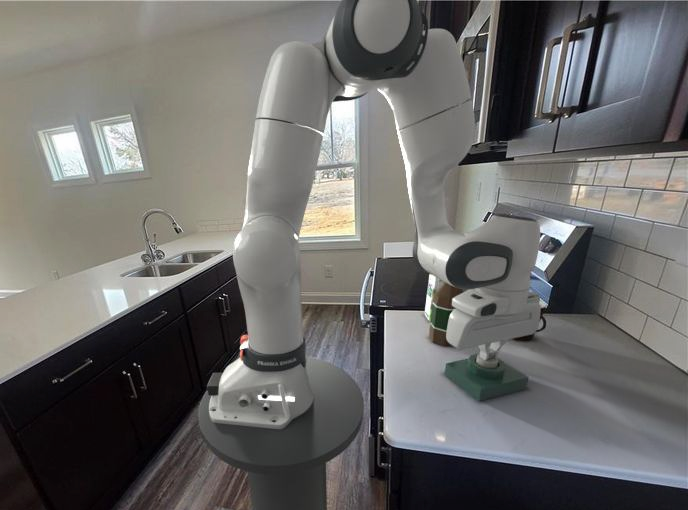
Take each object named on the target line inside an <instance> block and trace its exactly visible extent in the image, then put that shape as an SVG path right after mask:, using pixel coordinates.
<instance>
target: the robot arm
mask: <svg viewBox="0 0 688 510" xmlns="http://www.w3.org/2000/svg"><path fill="white" fill-rule="evenodd" d="M373 90H377V91H378V92H380V93H381V94H382V95H383V96H384V97H385V98H386V100H387V101H388V104H389V105H390V107H391V110H392V112H393V117H394V118H393V119H394V122H395V126H396V127H395V128H396V130H397V135H398V139H399V144H400V148H401V153H402V156H403V161H404V165H405V173H406V182H407V189H408V197H409V203H410V208H411V213H412V220H413V225H414V239H413V244H412V245H413V246H412V260H413V262H414V264H415V266H416V268H417V269H419V270H420V271H422V272H423V273H426V274H428V275H429V276H430V275H433V276H435V277H437V278H439V279H440V280H442V281H444V282H446V283H448V284H450V285H451V286H453V287H456V288H459V289H462V290H463V293H462V294H460V295H458V296H456V297H454V298H453V300H452V306H453V307H455V308H456V309H454V310H453V311H452V312H451V314H450V317H449V321H448V326H447V332H446V339H447V341H448V342H449V343H450V344H451V345H452V346H451V347H454V348H455V349H457V350H459V351H460V350H461V351H462V350H466V349H471V348H475V347H478V349H479V354H480V358H482V359H484V360H488V359H492V358H498V355H499V352H500V350H501V349H502V348H503V347H504V345H505V344H506V341H507V340H514V339H513V338H517V337H522V336H526V335H531V334H534V333H535V334H536V333H537V332H536V331H537V330H539V326H540V323H539V321H540V322H541V320H540V312H541V307H540V305H539V301H540V300H541V297H540V295H539V294H538V293H537V292H536V291H530V290H531V286H532V284H531V283H532V282H531V274H532V271H533V270H534V268H535V267H536V264H537V259H538V255H539V251H540V244H541V227H540V223H539V221H537V220H536V219H534V218H532V217H528V216H523V215H522V216H521V215H515V214H509V213H508V214H507V213H496V214H493V215H492V216H491V217H490V218H489V220H488V221H486V222H485V223H483V224H482V225H480V226H478V227H477V228H475V229H473V230H471V231H469V232H465V233H461V232H457V231H456V230H455V229H454V228H453V227H452V226H451V224H449V221H448V215H447V207H446V197H445V188H444V187H445V181H446V178H447V177H448V175H449V173H450V172H451V171H452V170H453V169H454V168H456V167H457V166H458V165H459V164H460V163H461V162H462V161H463V160H464V159H465V157H466V156H467V155H468V153H469V152H470V150H471V148H472V147H473V144H474V142H475V133H476V117H475V110H474V104H473V103H474V102H473V99H472V98H473V97H472V92H471V86H470V81H469V77H468V73H467V69H466V66H465V64H464V60H463V57H462V54H461V51H460V49H459V46H458V44H457V41H456V39H455V36H454V35H453V34H452V33H451V32H450V31H448V30H447V29H445V28H429V20H428V18H427V16H426V14H425V13H424V12H423V11H422V10H421V9H420V6H419V3H418V0H341V1H340V3H339V4H338V7H337V9H336V11H335V14H334V15H333V18H332V20H331V22H330V24H329V25H328V27H327V30H326V32H325V34H324V36H323V37H322V38H321V39H320V40H319V41H317V42H311V43H310V42H308V41H307V42H306V41H302V40H292V41H287V42H285V43H283V44H280V45H279V46H277V48H276V49H275V50H274V51H273V53H272V55H271V57H270V60H269V62H268V65H267V69H266V72H265V75H264V78H263V82H262V86H261V90H260V94H259V99H258V103H257V109H256V115H255V121H254V128H253V136H252V140H251V141H252V142H251V147H250V148H251V150H250V156H249V162H248V168H247V185H246V196H245V197H246V198H245V207H244V217H243V225H242V228H241V229H240V231H239V232H238V234H237V236H236V238H235V239H234V242H233V246H232V260H233V266H234V270H235V274H236V279H237V282H238V289H239V292H240V297H241V300H242V303H243V307H244V308H243V309H244V313H245V321H246V322H245V323H246V330H247V334H243V335H242V336H241V337H240V340H239V345H240V346H239V357H238V358H237V359H236V360H234V361H232V363H230V364H229V365H227V366H226V367H225V369H224V370H223V372H213V373H212V375H211V377H210V379H209V381H208V383H207V385H206V391H208V395H212V396H211V399H210V403H209V415H210V418H211V420H212V422H214V423H221V424H231V425H241V426H251V427H261V428H271V429H283V428H285V427H286V426H287V425H288V424H289V423H290V422H291V420H292V419H294V418H296V417H297V416H299V415H301V414H303V413H304V412H305V411H306V410H308V408H309V407H310V406H311V404H312V402H313V398H314V395H313V391H312V389H311V386H310V383H309V380H308V376H307V371H306V361H307V356H308V353H307V342H306V338H305V336H304V328H303V325H304V324H303V307H302V306H303V305H302V304H303V303H302V267H301V266H302V265H301V263H302V262H301V248H300V247H301V246H300V244H299V242H300V241H299V240H300V234H301V229H302V227H303V226H302V225H303V221H304V218H305V215H306V214H305V213H306V210H307V206H308V202H309V199H310V196H311V192H312V189H313V185H314V181H315V176H316V172H317V167H318V163H319V157H320V153H321V149H322V144H323V139H324V134H325V130H326V126H327V125H326V124H327V119H328V115H329V112H330V109H331V106H332V105H333V103H336V102H347V101H354V100H357V99H360V98H362V97H364V96H366V95H367V94H368V93H370V92H371V91H373ZM464 290H465V291H464ZM535 334H534V335H535Z"/></svg>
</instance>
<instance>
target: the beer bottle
mask: <svg viewBox="0 0 688 510" xmlns="http://www.w3.org/2000/svg"><path fill="white" fill-rule="evenodd" d="M463 292H464V289H459V288H456V287H453V286H451V285H450V284H448V283H446V282H444V281H443V283H442V286H441V287H440V288H439V289H438V290H437V291H436V293H435V295H434V298H433V304H432V313H431V322H430V321H429V331H428V338H429V339H430V341H431V342H432V343H433V344H436V345H437V346H442V347H453V346H452V345H451V344H450V343H449V342H448V341H447V339H446V332H447V326H448V321H449V317H450V314H451V312H452V311H453V310H454V309H456V308H455V307H453V306H452V300H453V298H454V297H456V296H458V295H460V294H462V293H463Z"/></svg>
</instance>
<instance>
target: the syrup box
mask: <svg viewBox="0 0 688 510" xmlns="http://www.w3.org/2000/svg"><path fill="white" fill-rule="evenodd" d="M442 283H443V281H442V280H440V279H439V278H437V277H435V276H433V275H430V274H429V276H428V284H427V291H426V301H425V307H424V316H425V318H426V319H427V320H428V321H429V323H430V322H431V313H432V304H433V298H434V295H435V293H436V291H437V290H438V289H439V288H440V287H441V286H442Z"/></svg>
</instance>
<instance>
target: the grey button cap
mask: <svg viewBox="0 0 688 510" xmlns="http://www.w3.org/2000/svg"><path fill="white" fill-rule="evenodd" d="M477 354H478V355H477V359H476V363H477V364H479V365H480V366H483V367H486V368H497V366H498V362H499V359H500V358H499V357H497V358H492V359H488V360H484V359H482V358H480V353H477ZM498 358H499V359H498Z"/></svg>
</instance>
